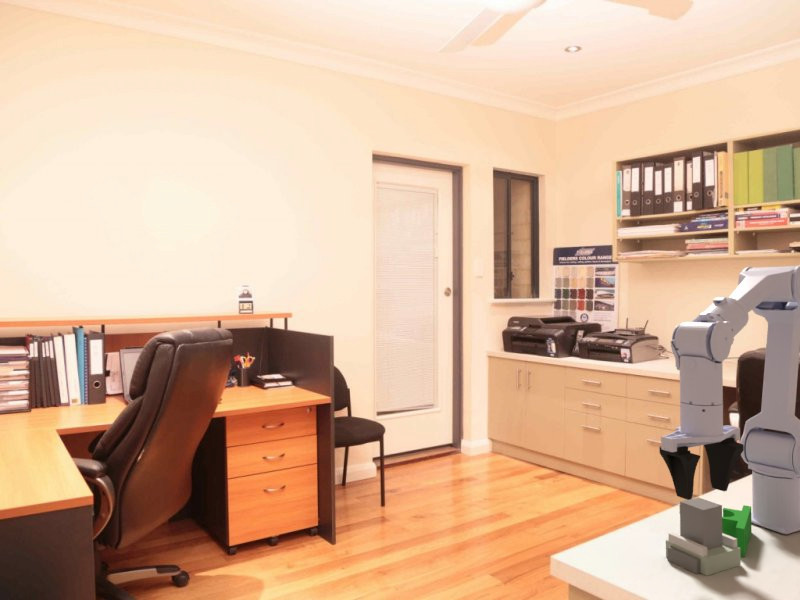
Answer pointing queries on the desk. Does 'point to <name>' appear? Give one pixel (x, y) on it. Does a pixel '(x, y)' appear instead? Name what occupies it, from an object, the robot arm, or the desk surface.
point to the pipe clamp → (738, 526)
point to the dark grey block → (701, 522)
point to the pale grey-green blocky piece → (703, 554)
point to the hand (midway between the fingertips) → (702, 493)
